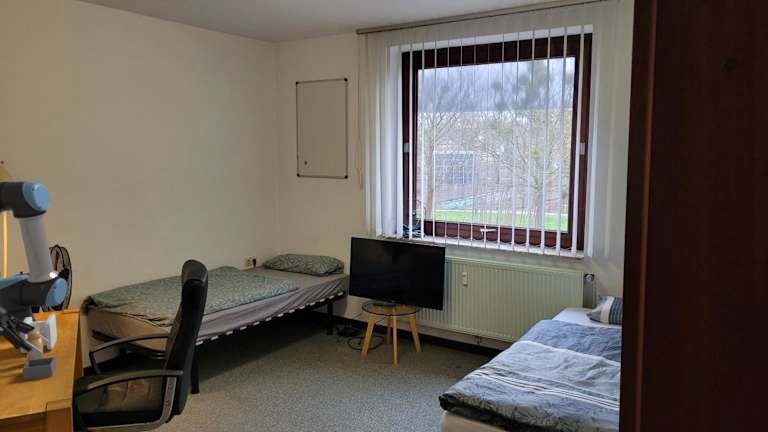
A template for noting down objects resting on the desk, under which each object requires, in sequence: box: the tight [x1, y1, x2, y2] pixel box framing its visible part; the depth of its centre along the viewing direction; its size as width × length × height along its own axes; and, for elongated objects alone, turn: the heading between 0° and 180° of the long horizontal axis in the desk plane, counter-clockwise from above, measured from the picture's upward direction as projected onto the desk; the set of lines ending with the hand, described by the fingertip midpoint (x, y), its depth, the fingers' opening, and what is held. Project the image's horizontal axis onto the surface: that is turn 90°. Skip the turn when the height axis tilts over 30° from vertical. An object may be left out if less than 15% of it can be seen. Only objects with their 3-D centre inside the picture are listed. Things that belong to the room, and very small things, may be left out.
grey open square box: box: [22, 356, 57, 381], centre depth 197 cm, size 8×8×4 cm
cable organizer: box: [18, 313, 58, 354], centre depth 223 cm, size 15×11×12 cm
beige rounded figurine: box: [26, 330, 45, 362], centre depth 207 cm, size 5×5×12 cm
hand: (42, 349), depth 208 cm, fingers open, 12 cm apart
